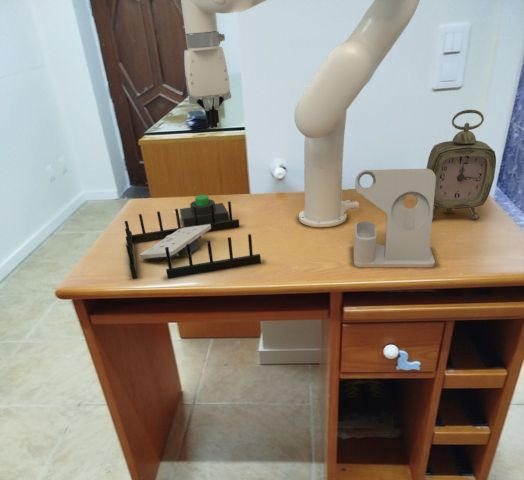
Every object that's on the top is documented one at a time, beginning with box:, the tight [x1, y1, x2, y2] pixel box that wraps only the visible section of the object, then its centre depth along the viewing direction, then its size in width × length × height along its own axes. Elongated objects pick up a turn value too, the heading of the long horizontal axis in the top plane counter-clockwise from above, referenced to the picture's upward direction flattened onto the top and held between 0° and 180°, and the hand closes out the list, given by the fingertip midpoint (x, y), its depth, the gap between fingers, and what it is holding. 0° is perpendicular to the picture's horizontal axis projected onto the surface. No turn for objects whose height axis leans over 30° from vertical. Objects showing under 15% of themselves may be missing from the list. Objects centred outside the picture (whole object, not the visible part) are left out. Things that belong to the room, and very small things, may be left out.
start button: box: [194, 194, 210, 206], centre depth 128 cm, size 4×4×2 cm
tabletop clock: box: [425, 109, 497, 221], centre depth 117 cm, size 14×9×25 cm, turn 83°
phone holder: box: [352, 168, 436, 268], centre depth 102 cm, size 17×10×18 cm, turn 82°
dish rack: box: [124, 200, 262, 280], centre depth 113 cm, size 28×24×7 cm
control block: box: [179, 198, 230, 227], centre depth 130 cm, size 12×8×5 cm, turn 104°
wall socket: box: [139, 224, 211, 262], centre depth 115 cm, size 18×15×4 cm
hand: (213, 126), depth 123 cm, fingers closed
